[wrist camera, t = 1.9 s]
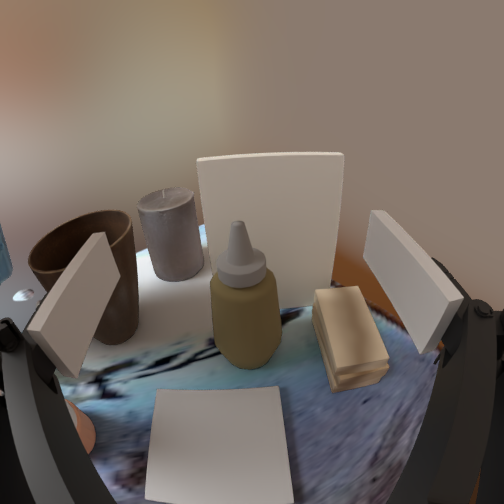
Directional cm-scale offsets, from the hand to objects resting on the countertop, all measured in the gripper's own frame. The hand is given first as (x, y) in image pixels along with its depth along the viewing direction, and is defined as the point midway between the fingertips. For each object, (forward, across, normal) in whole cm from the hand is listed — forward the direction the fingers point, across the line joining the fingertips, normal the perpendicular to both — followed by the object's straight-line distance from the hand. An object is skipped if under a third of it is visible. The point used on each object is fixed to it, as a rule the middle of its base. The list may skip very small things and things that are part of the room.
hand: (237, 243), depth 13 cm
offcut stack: (+8, +12, -22) cm, 26 cm away
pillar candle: (+30, -12, -22) cm, 39 cm away
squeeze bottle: (+10, 0, -22) cm, 24 cm away
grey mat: (-3, -4, -22) cm, 23 cm away
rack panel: (+18, +4, -22) cm, 29 cm away
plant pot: (+15, -20, -22) cm, 33 cm away
